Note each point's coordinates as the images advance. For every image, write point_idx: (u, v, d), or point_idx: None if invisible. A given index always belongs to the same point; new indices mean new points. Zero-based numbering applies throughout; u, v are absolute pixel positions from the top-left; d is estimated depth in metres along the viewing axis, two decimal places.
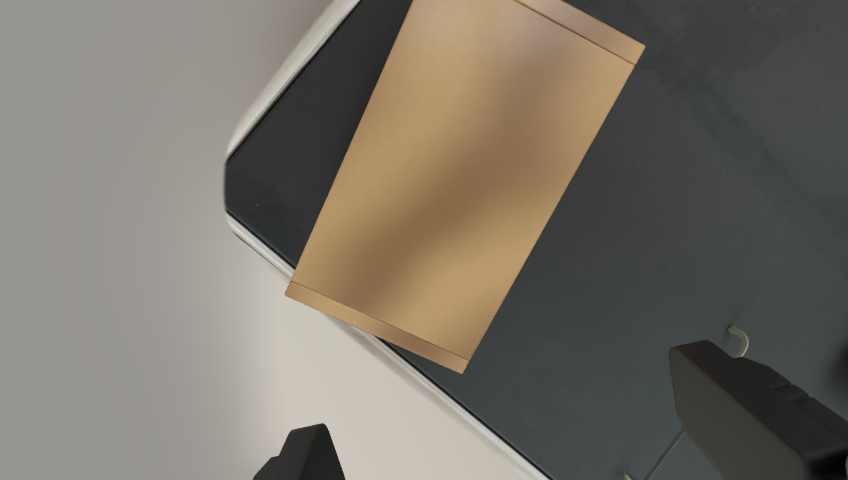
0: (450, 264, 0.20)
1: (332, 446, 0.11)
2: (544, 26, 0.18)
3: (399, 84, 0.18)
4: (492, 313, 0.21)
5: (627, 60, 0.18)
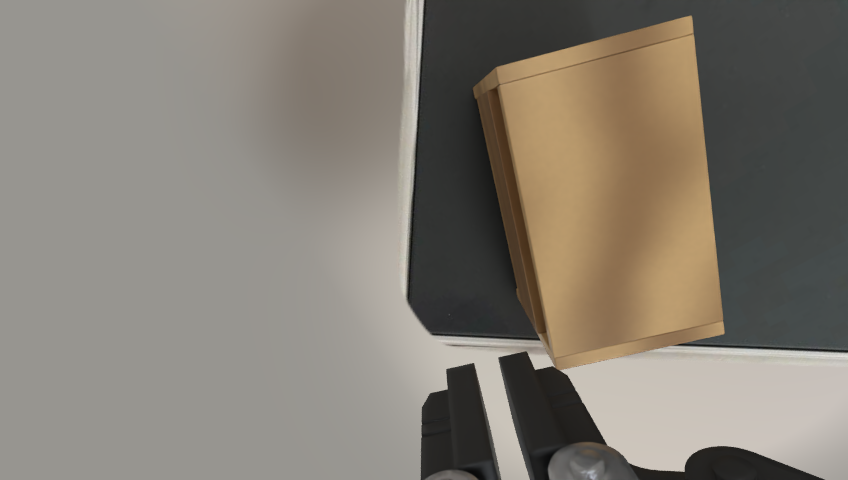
0: (659, 266, 0.23)
1: (479, 385, 0.11)
2: (608, 64, 0.21)
3: (536, 179, 0.22)
4: (716, 276, 0.23)
5: (685, 35, 0.21)
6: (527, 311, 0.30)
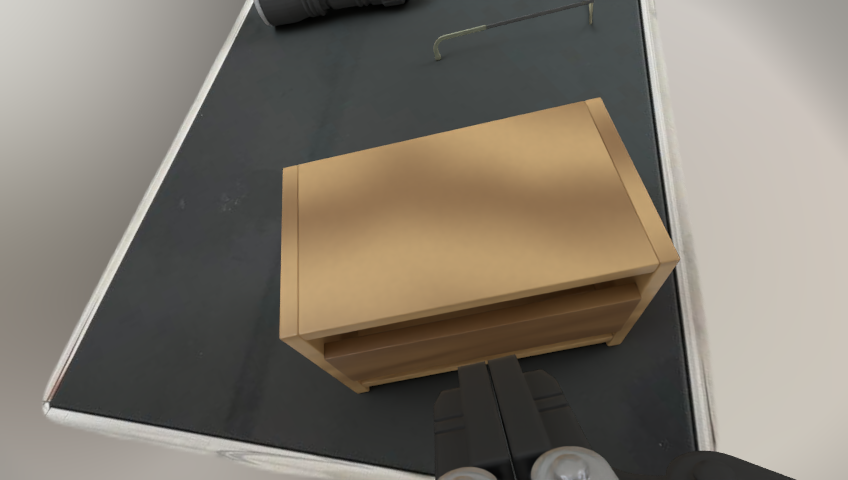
0: (521, 162, 0.21)
1: None
2: (304, 228, 0.21)
3: (410, 292, 0.18)
4: (532, 114, 0.22)
5: (297, 170, 0.23)
6: (619, 319, 0.22)
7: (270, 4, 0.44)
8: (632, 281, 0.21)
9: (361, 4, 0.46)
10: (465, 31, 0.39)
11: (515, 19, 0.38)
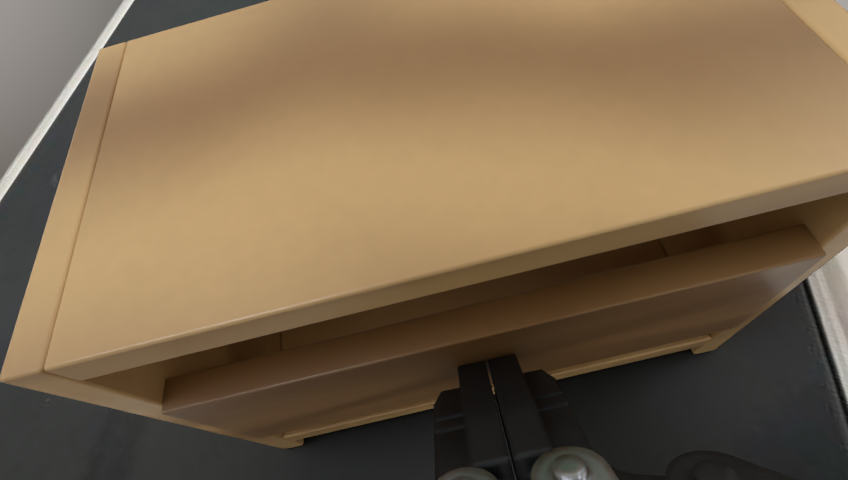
0: None
1: None
2: (112, 144, 0.10)
3: (312, 257, 0.08)
4: None
5: (123, 50, 0.12)
6: (751, 304, 0.11)
7: None
8: (791, 224, 0.10)
9: None
10: None
11: None
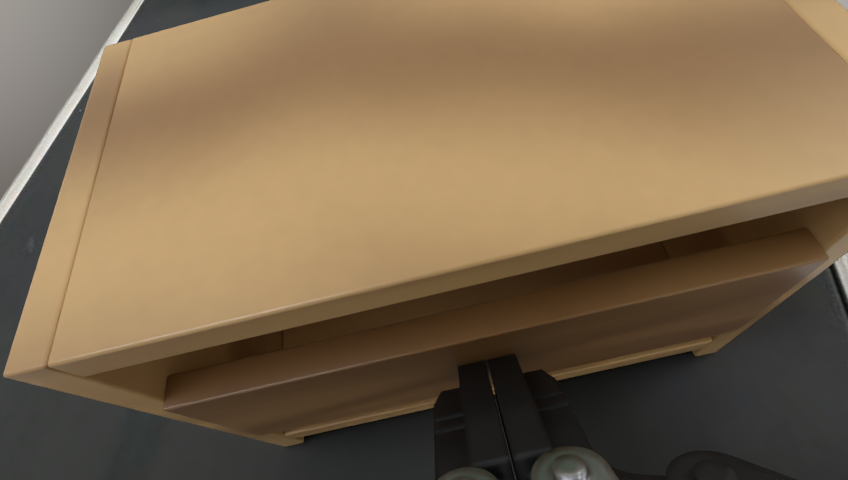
0: None
1: None
2: (116, 142, 0.10)
3: (315, 256, 0.08)
4: None
5: (128, 47, 0.12)
6: (753, 307, 0.11)
7: None
8: (794, 227, 0.10)
9: None
10: None
11: None
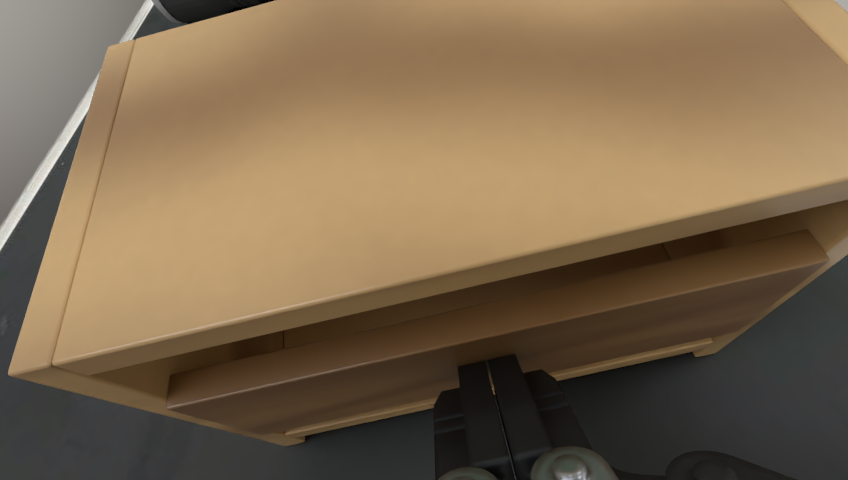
0: None
1: None
2: (120, 141, 0.10)
3: (319, 257, 0.08)
4: None
5: (132, 47, 0.12)
6: (753, 308, 0.11)
7: None
8: (795, 229, 0.10)
9: None
10: None
11: None
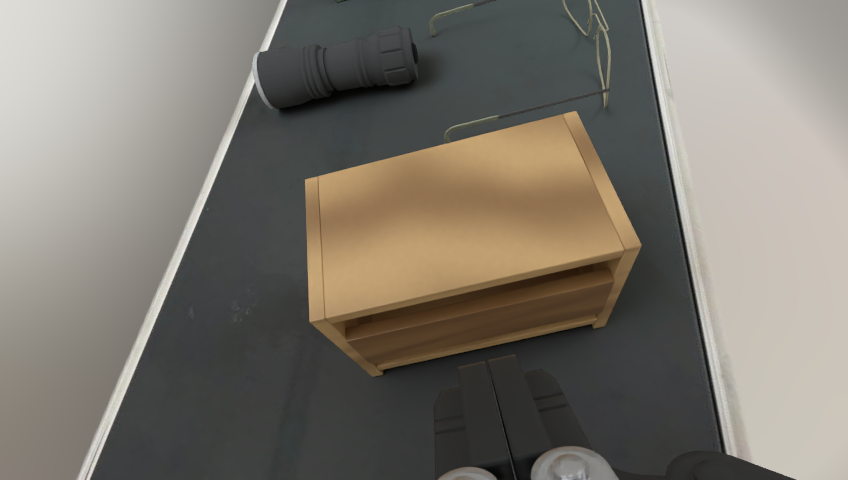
0: (508, 169, 0.24)
1: None
2: (326, 230, 0.25)
3: (417, 280, 0.22)
4: (518, 127, 0.26)
5: (317, 181, 0.26)
6: (598, 301, 0.25)
7: (274, 91, 0.43)
8: (607, 267, 0.24)
9: (367, 86, 0.45)
10: (477, 122, 0.38)
11: (528, 109, 0.37)
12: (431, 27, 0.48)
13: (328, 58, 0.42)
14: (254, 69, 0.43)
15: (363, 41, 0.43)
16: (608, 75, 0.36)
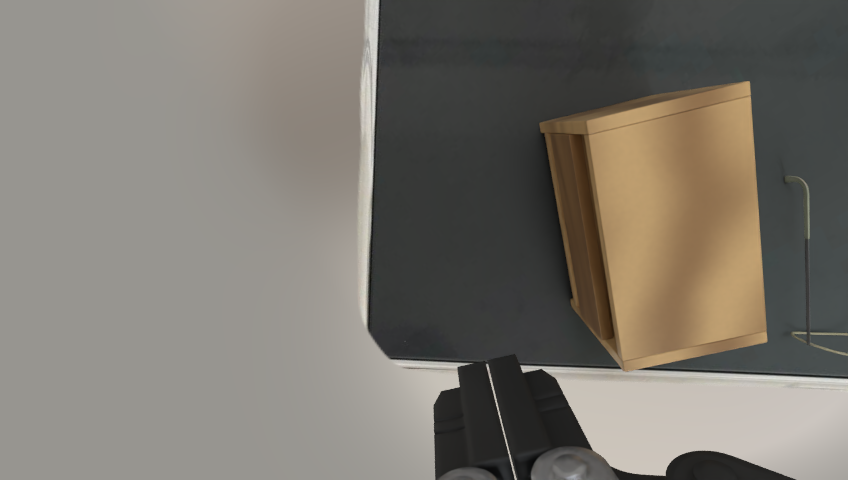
0: (714, 285, 0.28)
1: None
2: (679, 119, 0.25)
3: (615, 212, 0.27)
4: (761, 294, 0.28)
5: (743, 97, 0.25)
6: (589, 320, 0.34)
7: None
8: (613, 335, 0.32)
9: None
10: (807, 216, 0.35)
11: (807, 270, 0.36)
12: None
13: None
14: None
15: None
16: (825, 349, 0.36)
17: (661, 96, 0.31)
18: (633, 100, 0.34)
